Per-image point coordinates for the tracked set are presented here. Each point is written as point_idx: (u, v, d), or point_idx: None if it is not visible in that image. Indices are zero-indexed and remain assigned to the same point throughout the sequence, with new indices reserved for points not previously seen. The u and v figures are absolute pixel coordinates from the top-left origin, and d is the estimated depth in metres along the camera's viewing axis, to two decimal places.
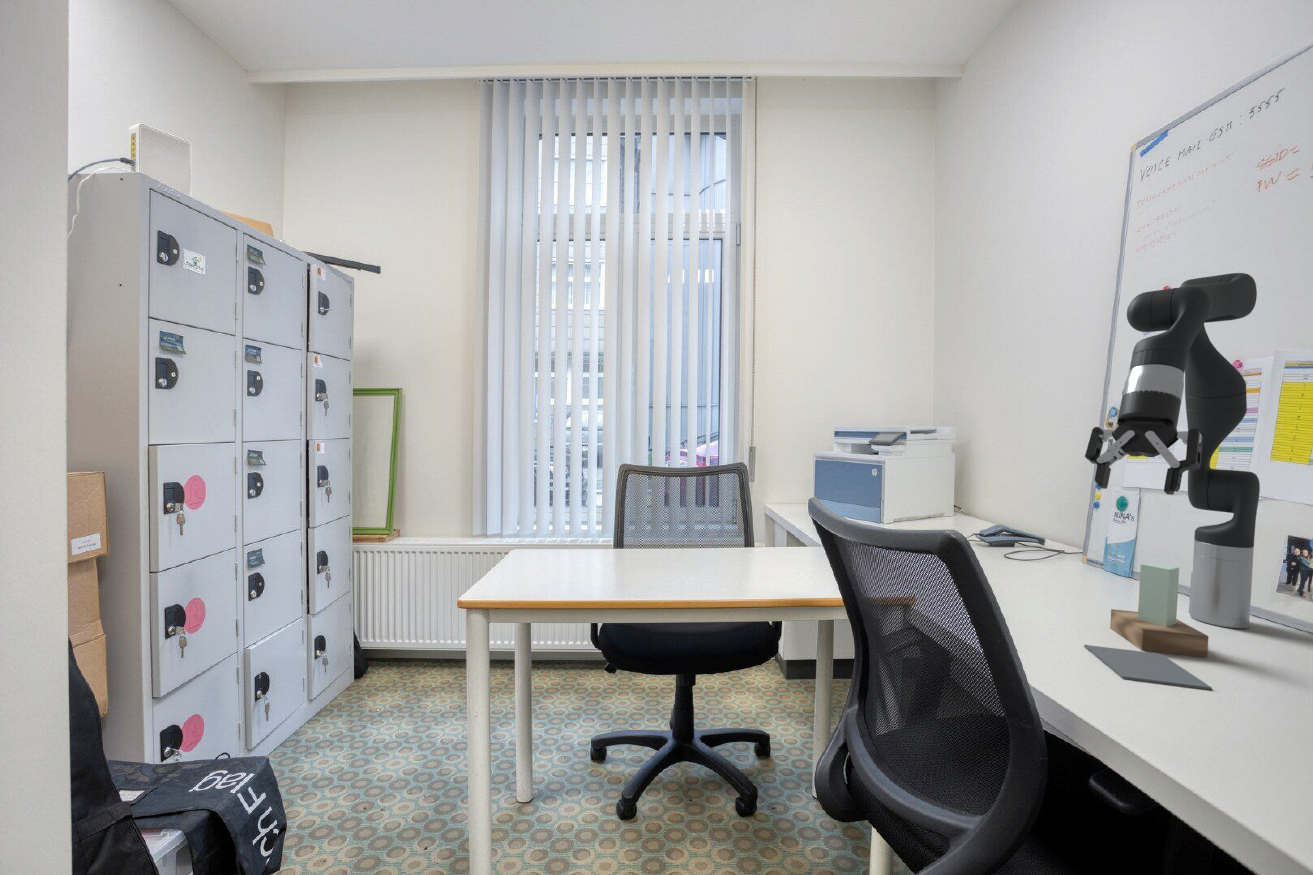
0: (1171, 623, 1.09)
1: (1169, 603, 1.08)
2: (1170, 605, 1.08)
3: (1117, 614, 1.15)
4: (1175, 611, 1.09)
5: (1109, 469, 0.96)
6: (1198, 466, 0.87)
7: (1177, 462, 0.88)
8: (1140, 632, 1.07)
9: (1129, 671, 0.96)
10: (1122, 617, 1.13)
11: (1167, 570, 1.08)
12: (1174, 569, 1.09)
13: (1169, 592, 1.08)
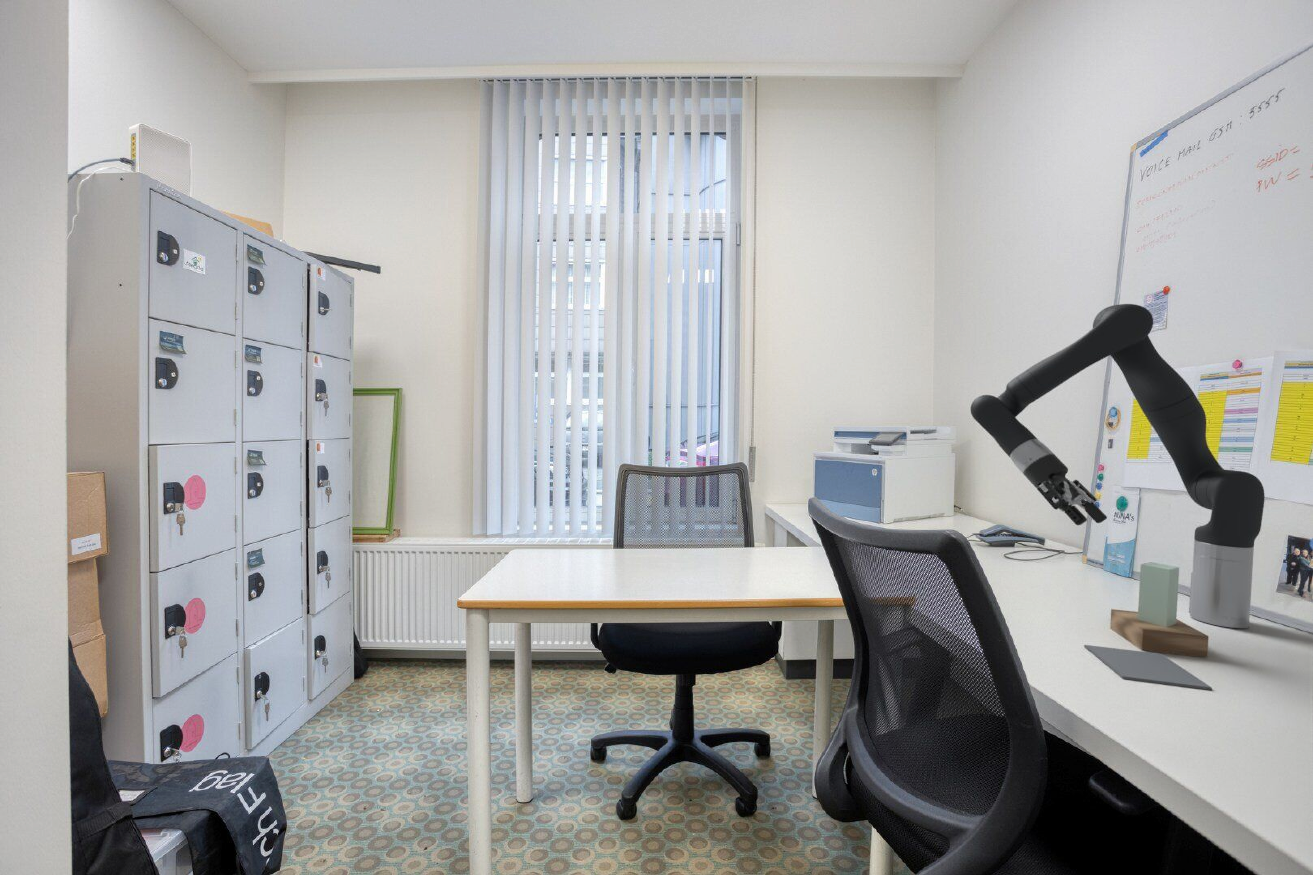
0: (1171, 623, 1.09)
1: (1169, 603, 1.08)
2: (1170, 605, 1.08)
3: (1117, 614, 1.15)
4: (1175, 611, 1.09)
5: (1091, 506, 1.24)
6: (1060, 503, 1.19)
7: (1059, 508, 1.21)
8: (1140, 632, 1.07)
9: (1129, 671, 0.96)
10: (1122, 617, 1.13)
11: (1167, 570, 1.08)
12: (1174, 569, 1.09)
13: (1169, 592, 1.08)
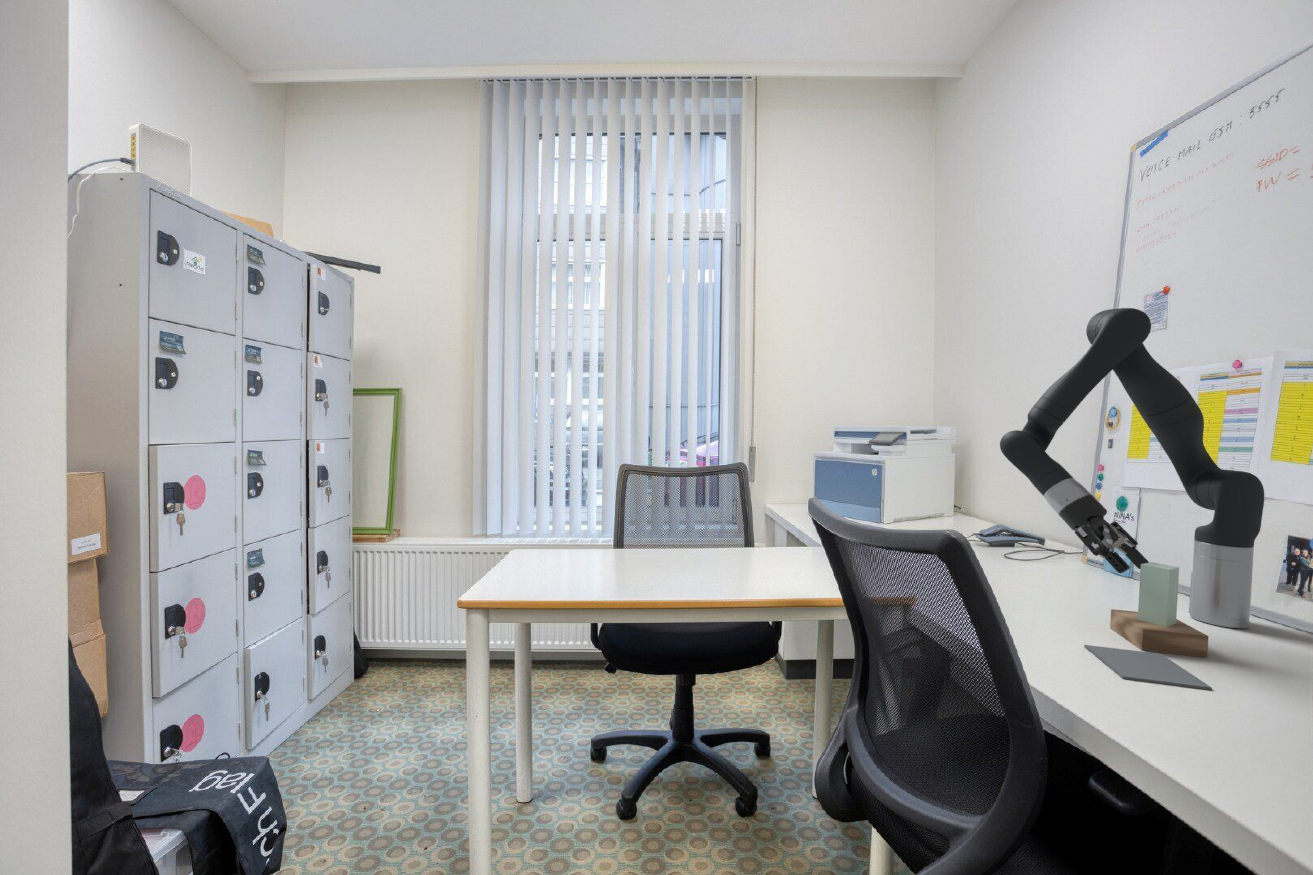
0: (1171, 623, 1.09)
1: (1169, 603, 1.08)
2: (1170, 605, 1.08)
3: (1117, 614, 1.15)
4: (1175, 611, 1.09)
5: (1133, 551, 1.17)
6: (1101, 549, 1.13)
7: None
8: (1140, 632, 1.07)
9: (1129, 671, 0.96)
10: (1122, 617, 1.13)
11: (1167, 570, 1.08)
12: (1174, 569, 1.09)
13: (1169, 592, 1.08)
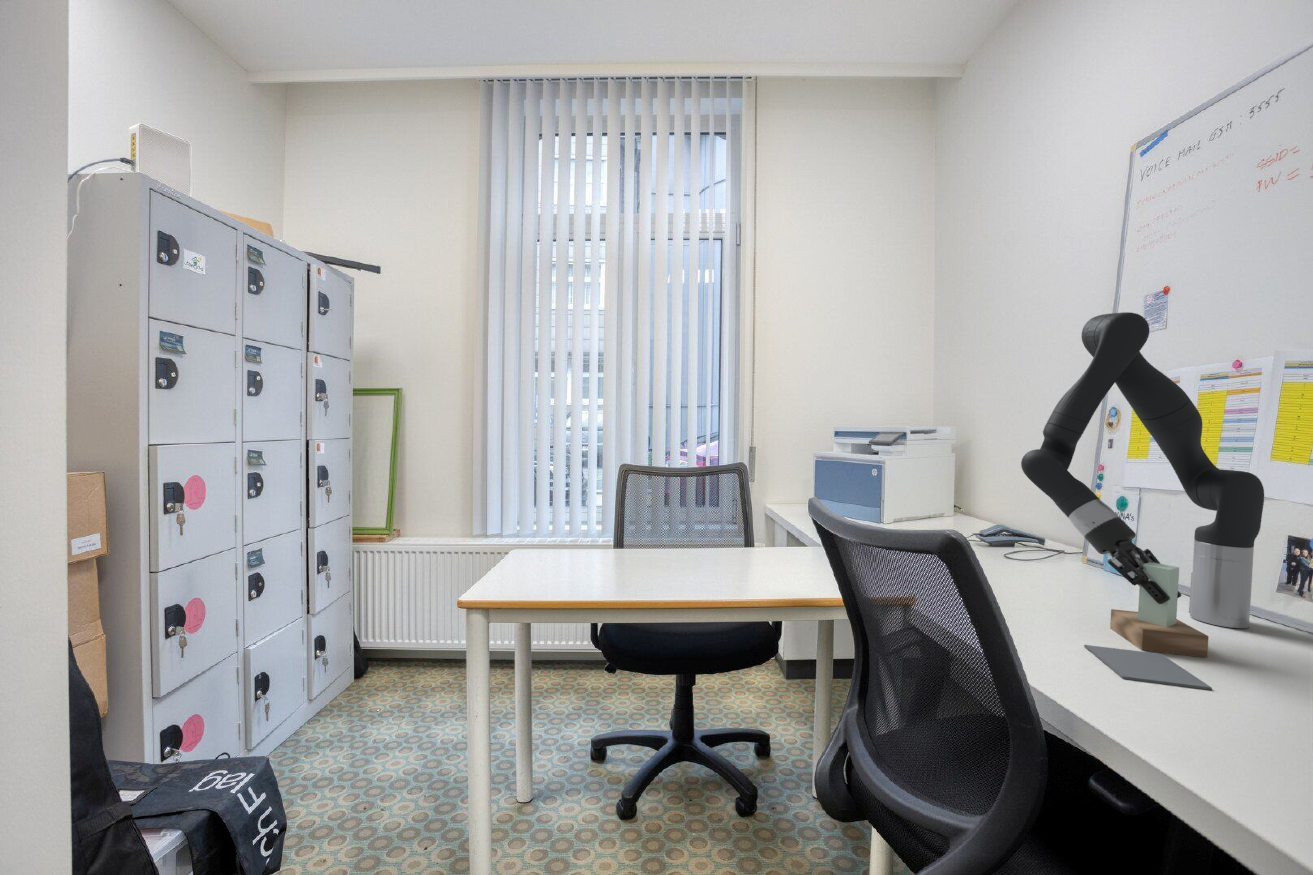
0: (1171, 623, 1.09)
1: (1169, 603, 1.08)
2: (1170, 605, 1.08)
3: (1117, 614, 1.15)
4: (1175, 611, 1.09)
5: None
6: (1141, 579, 1.09)
7: (1137, 583, 1.11)
8: (1140, 632, 1.07)
9: (1129, 671, 0.96)
10: (1122, 617, 1.13)
11: (1167, 570, 1.08)
12: (1174, 569, 1.08)
13: (1169, 592, 1.08)
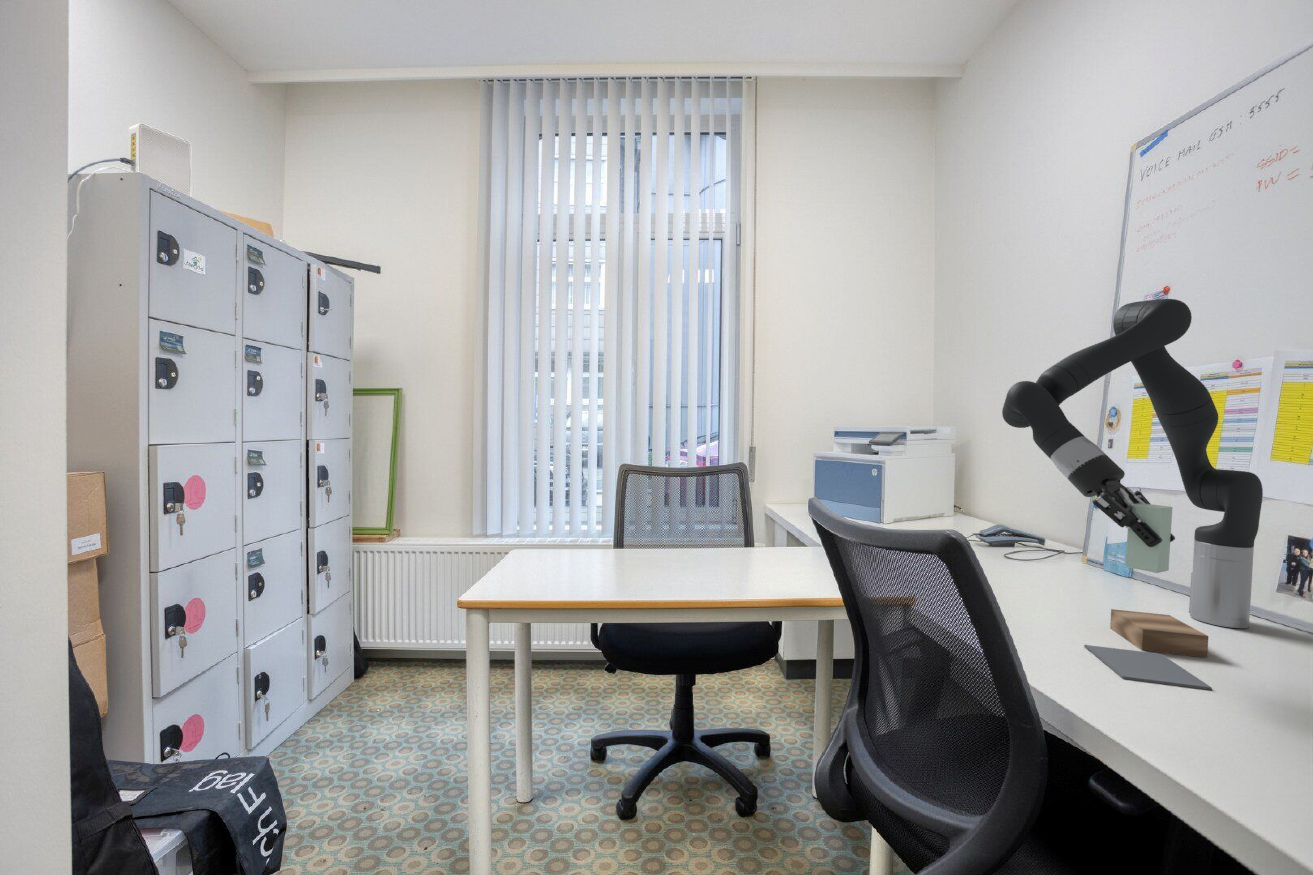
0: (1163, 569, 0.97)
1: (1160, 547, 0.96)
2: (1162, 549, 0.96)
3: (1117, 614, 1.15)
4: (1167, 556, 0.97)
5: None
6: (1129, 520, 0.96)
7: (1125, 525, 0.99)
8: (1140, 632, 1.07)
9: (1129, 671, 0.96)
10: (1122, 617, 1.13)
11: (1159, 509, 0.95)
12: (1167, 508, 0.96)
13: (1160, 533, 0.96)
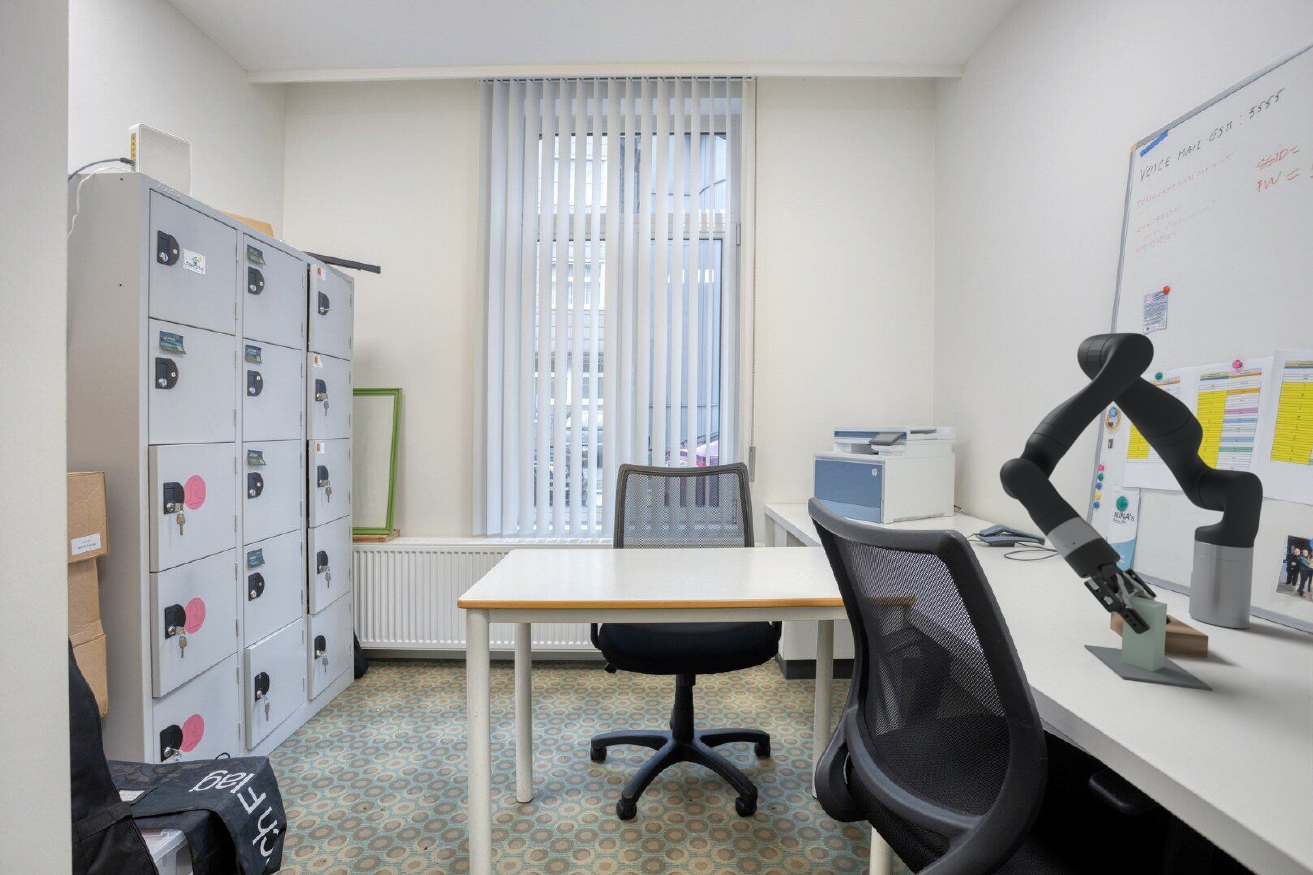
0: (1158, 666, 0.97)
1: (1155, 645, 0.96)
2: (1157, 647, 0.96)
3: None
4: (1162, 653, 0.98)
5: None
6: (1116, 606, 0.97)
7: None
8: None
9: (1129, 671, 0.96)
10: None
11: (1153, 607, 0.96)
12: (1161, 606, 0.97)
13: (1155, 632, 0.96)
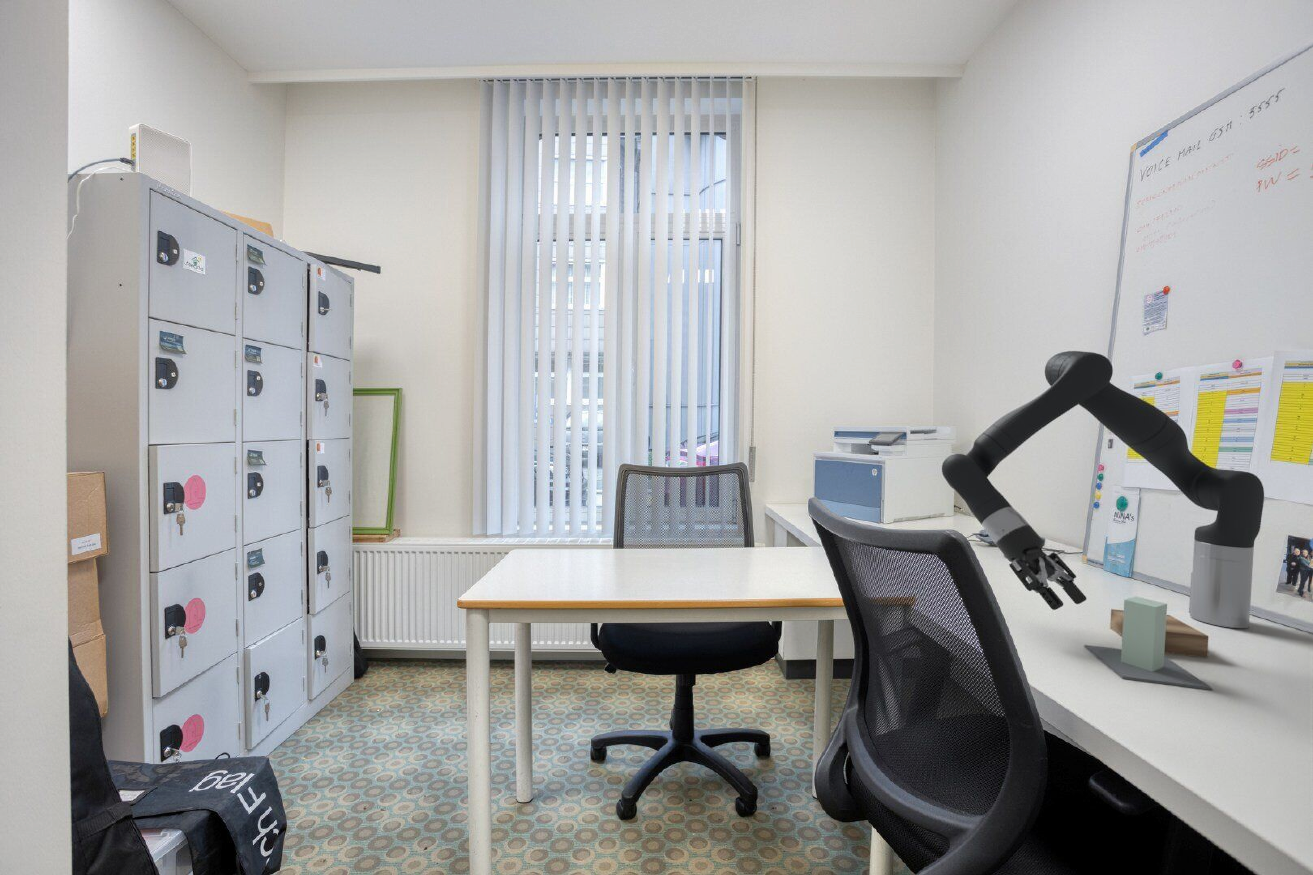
0: (1158, 666, 0.97)
1: (1155, 645, 0.96)
2: (1157, 647, 0.96)
3: (1117, 614, 1.15)
4: (1162, 653, 0.98)
5: (1070, 585, 1.12)
6: (1034, 584, 1.08)
7: None
8: None
9: (1129, 671, 0.96)
10: (1122, 617, 1.13)
11: (1153, 607, 0.96)
12: (1161, 606, 0.97)
13: (1155, 632, 0.96)
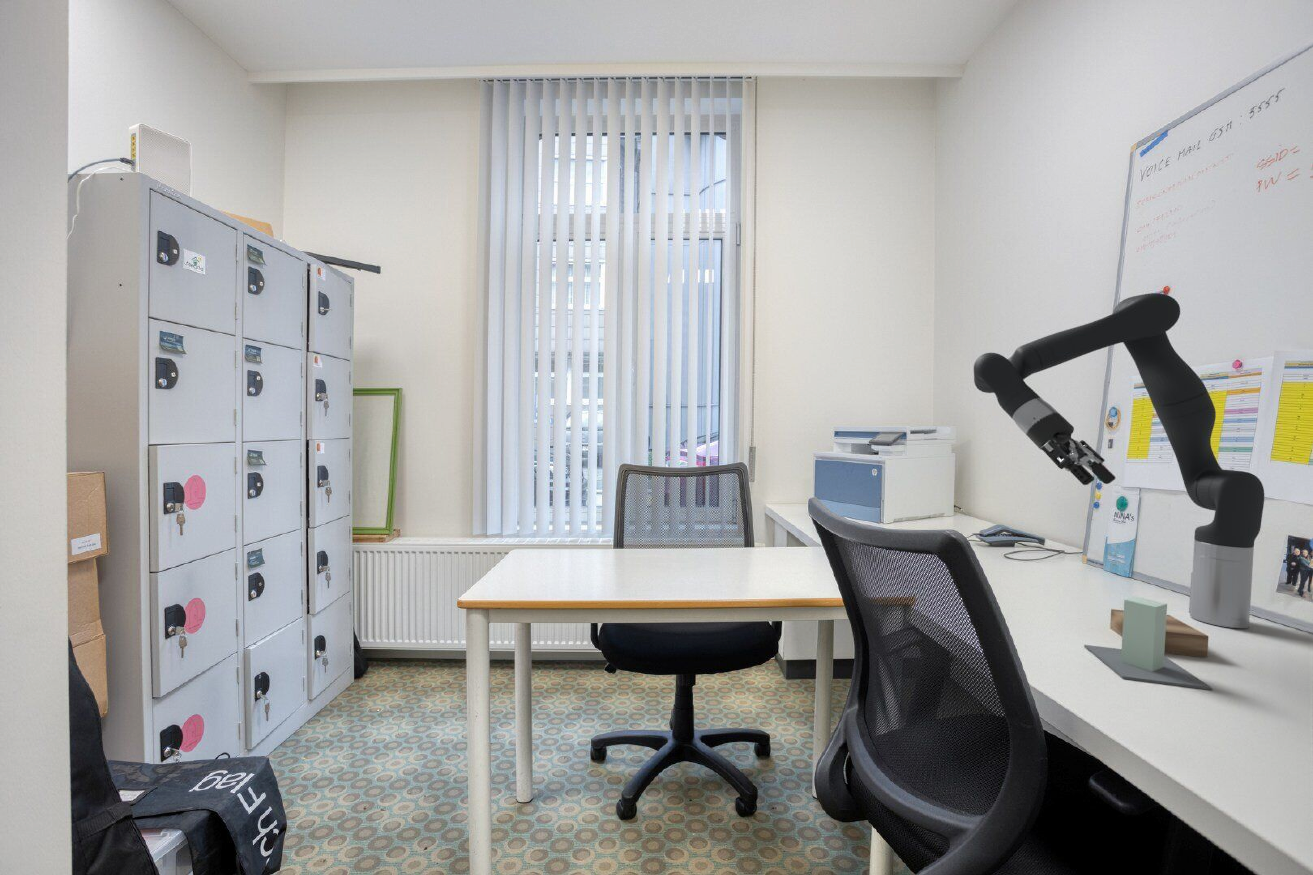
0: (1158, 666, 0.97)
1: (1155, 645, 0.96)
2: (1157, 647, 0.96)
3: (1117, 614, 1.15)
4: (1162, 653, 0.98)
5: (1099, 467, 1.17)
6: (1066, 461, 1.13)
7: None
8: None
9: (1129, 671, 0.96)
10: (1122, 617, 1.13)
11: (1153, 607, 0.96)
12: (1161, 606, 0.97)
13: (1155, 632, 0.96)
